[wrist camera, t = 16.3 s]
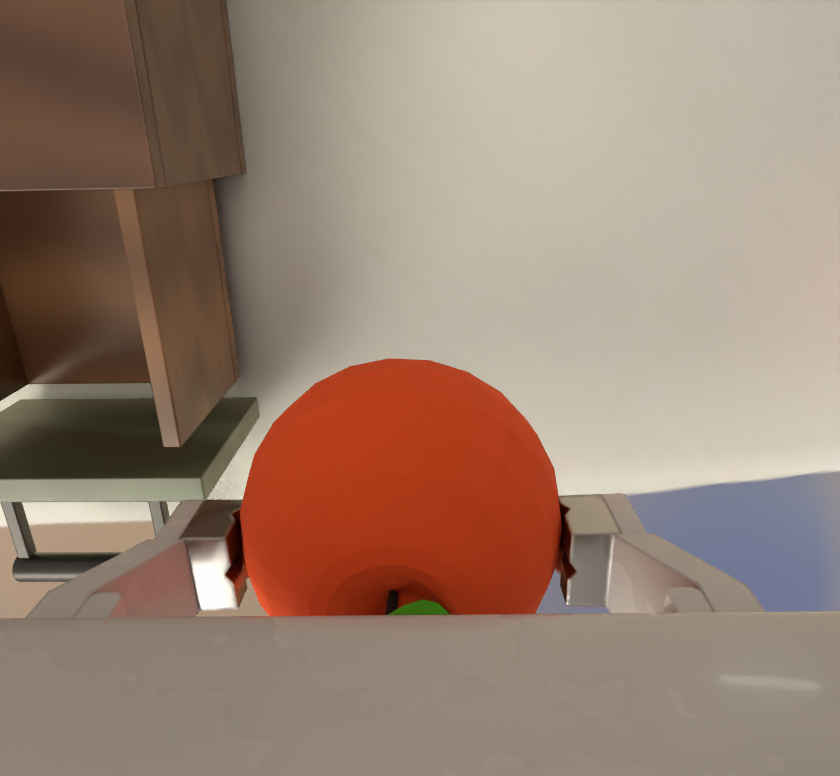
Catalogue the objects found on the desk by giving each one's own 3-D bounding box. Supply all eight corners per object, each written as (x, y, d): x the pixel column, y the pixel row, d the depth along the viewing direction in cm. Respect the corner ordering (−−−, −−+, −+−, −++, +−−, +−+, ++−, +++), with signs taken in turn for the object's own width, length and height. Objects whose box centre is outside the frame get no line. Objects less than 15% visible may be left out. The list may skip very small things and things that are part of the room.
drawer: (271, 503, 37) (223, 607, 29) (50, 504, 37) (-59, 607, 29) (215, 66, 28) (124, 36, 20) (-73, 74, 28) (-277, 47, 20)
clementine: (616, 452, 17) (733, 654, 10) (450, 604, 19) (458, 853, 12) (388, 263, 15) (353, 361, 8) (232, 454, 17) (107, 652, 11)
